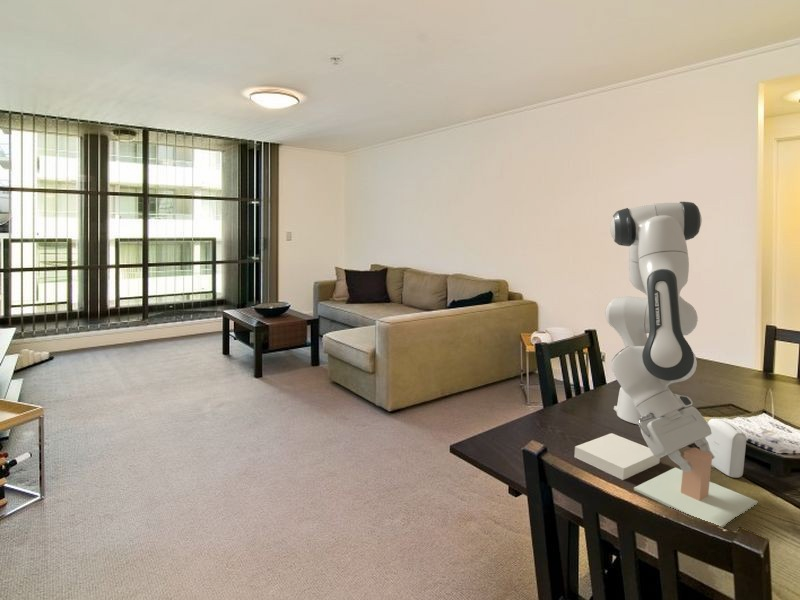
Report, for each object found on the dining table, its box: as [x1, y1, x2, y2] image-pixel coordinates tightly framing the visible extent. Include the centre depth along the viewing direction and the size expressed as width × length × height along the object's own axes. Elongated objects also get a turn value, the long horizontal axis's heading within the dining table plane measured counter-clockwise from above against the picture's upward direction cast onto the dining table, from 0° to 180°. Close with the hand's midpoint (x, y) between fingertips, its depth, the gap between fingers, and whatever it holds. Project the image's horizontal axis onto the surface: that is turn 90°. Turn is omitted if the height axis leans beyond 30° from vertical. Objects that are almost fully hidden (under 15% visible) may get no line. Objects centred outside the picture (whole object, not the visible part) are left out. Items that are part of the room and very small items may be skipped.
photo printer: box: [705, 418, 747, 479], centre depth 121 cm, size 10×4×12 cm, turn 3°
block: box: [681, 446, 712, 501], centre depth 108 cm, size 4×4×10 cm
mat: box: [633, 467, 759, 528], centre depth 109 cm, size 18×18×1 cm
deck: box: [573, 432, 661, 481], centre depth 126 cm, size 16×14×3 cm
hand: (700, 465), depth 107 cm, fingers open, 8 cm apart
